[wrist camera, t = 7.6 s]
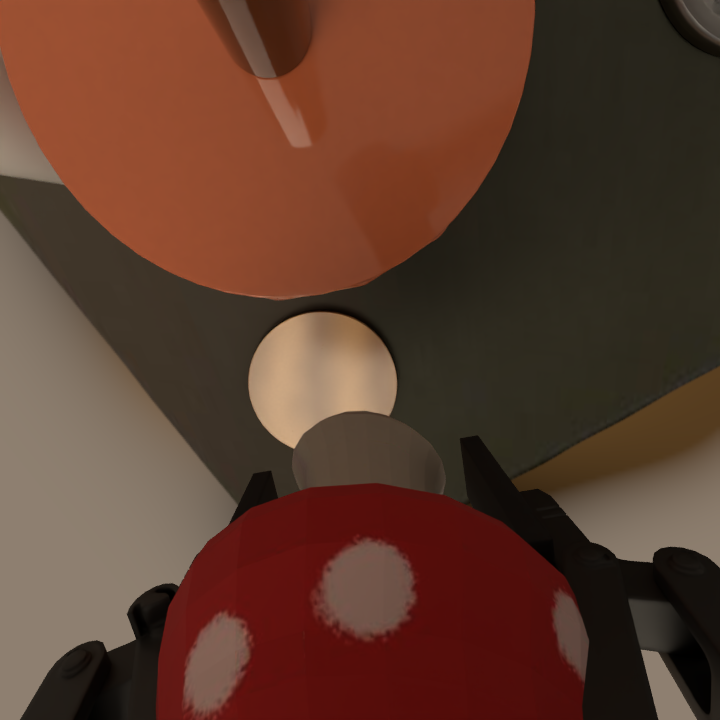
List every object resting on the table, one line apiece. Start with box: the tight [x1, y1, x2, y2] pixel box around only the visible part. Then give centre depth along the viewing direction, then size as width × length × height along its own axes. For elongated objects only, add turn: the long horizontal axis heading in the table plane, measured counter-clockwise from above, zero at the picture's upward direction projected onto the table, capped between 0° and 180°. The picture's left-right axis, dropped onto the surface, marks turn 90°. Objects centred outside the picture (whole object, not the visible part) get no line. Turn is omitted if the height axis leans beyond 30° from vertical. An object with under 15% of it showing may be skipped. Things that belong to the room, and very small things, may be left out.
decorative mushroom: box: [156, 411, 589, 720], centre depth 12 cm, size 10×9×15 cm
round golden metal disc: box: [248, 311, 397, 448], centre depth 36 cm, size 13×13×1 cm
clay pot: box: [0, 0, 535, 301], centre depth 19 cm, size 19×19×27 cm
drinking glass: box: [0, 49, 65, 185], centre depth 24 cm, size 7×7×15 cm
